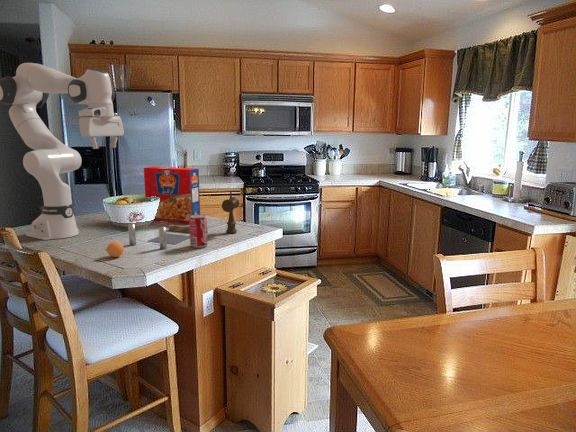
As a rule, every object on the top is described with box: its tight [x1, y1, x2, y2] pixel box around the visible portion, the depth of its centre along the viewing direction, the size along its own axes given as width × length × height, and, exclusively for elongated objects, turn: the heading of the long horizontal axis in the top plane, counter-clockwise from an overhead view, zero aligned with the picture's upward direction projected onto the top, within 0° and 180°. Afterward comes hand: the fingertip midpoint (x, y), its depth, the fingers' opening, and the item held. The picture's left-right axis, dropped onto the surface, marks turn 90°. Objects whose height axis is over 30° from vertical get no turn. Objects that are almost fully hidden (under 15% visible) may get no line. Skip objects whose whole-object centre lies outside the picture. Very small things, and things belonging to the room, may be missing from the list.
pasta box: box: [143, 165, 201, 225], centre depth 223 cm, size 28×8×28 cm, turn 70°
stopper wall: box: [168, 224, 208, 234], centre depth 201 cm, size 20×2×2 cm, turn 71°
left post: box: [127, 223, 137, 247], centre depth 178 cm, size 3×3×9 cm
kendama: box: [221, 190, 240, 234], centre depth 199 cm, size 6×10×20 cm, turn 169°
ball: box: [106, 241, 125, 258], centre depth 162 cm, size 6×6×6 cm
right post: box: [158, 225, 168, 250], centre depth 173 cm, size 3×3×9 cm
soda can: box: [188, 214, 209, 249], centre depth 176 cm, size 7×7×13 cm
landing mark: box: [148, 233, 190, 245], centre depth 189 cm, size 14×14×1 cm
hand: (104, 148), depth 168 cm, fingers open, 8 cm apart
